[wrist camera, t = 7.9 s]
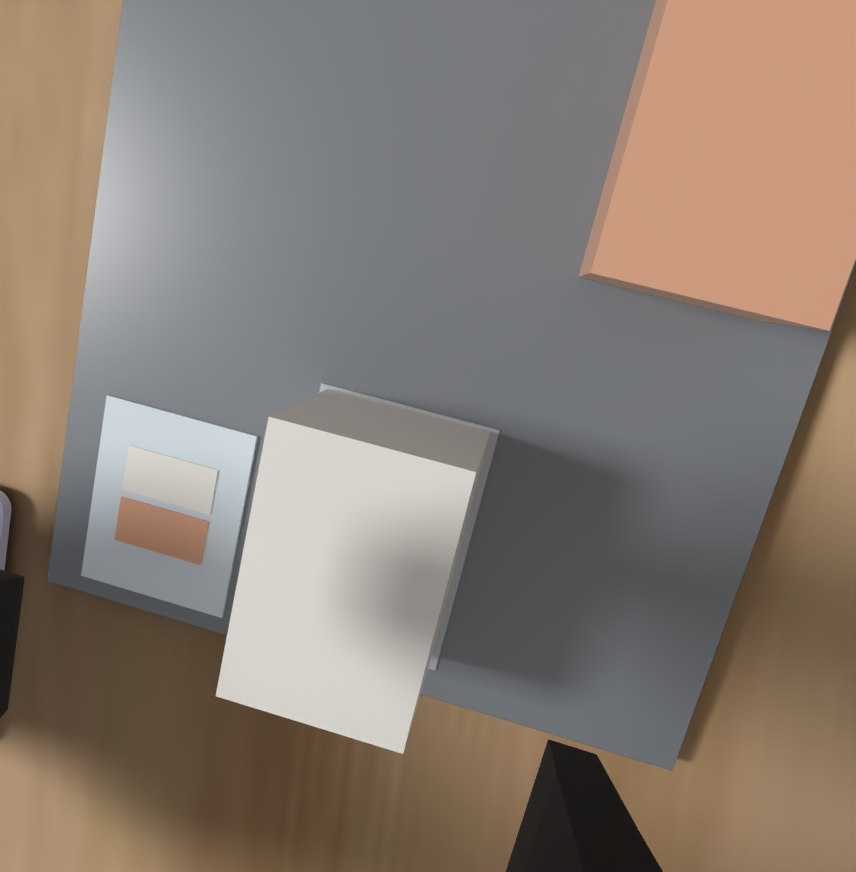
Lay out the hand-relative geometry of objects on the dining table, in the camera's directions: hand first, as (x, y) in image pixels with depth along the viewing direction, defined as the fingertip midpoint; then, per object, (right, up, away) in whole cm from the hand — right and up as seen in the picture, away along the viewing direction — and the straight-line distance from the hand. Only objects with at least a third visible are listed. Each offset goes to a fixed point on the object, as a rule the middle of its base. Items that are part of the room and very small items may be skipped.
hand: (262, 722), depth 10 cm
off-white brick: (+1, +1, +9) cm, 9 cm away
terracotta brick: (+8, +10, +6) cm, 14 cm away
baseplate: (+2, +7, +8) cm, 11 cm away
